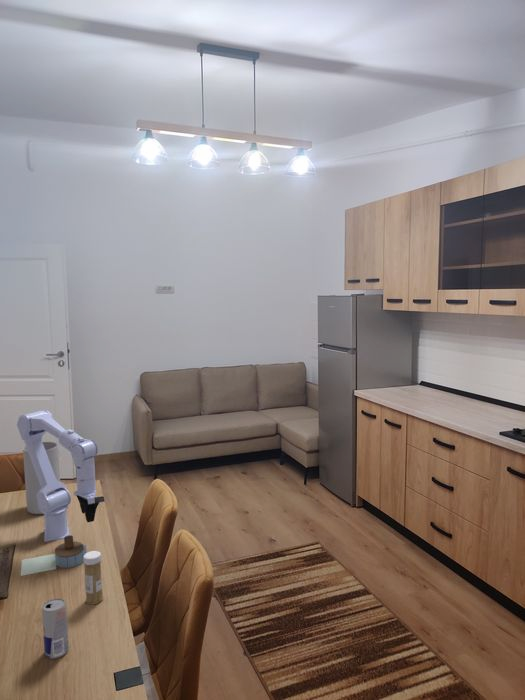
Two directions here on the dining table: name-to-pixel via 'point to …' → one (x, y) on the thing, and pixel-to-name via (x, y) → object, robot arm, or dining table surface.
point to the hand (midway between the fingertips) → (87, 517)
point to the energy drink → (55, 628)
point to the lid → (68, 547)
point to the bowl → (71, 559)
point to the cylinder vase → (31, 476)
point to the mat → (38, 564)
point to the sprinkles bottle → (93, 577)
